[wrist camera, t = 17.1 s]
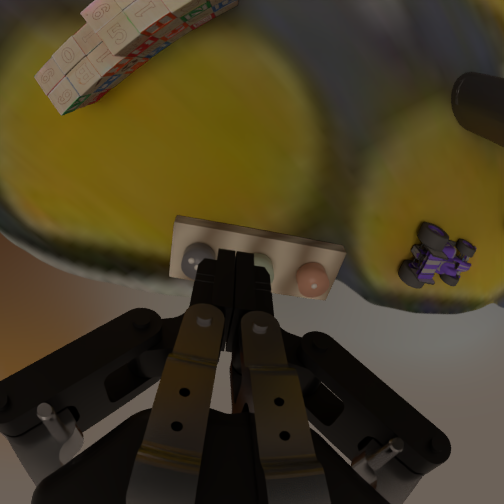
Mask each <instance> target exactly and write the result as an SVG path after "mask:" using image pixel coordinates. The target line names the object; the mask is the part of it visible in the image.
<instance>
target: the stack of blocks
mask: <svg viewBox="0 0 504 504" xmlns="http://www.w3.org/2000/svg"><path fill="white" fill-rule="evenodd" d="M237 5H238V0H94V1H93V2H92V3H91V4H90V5H88V6H87V7H86V8H85V9H84V10H83V11H82V12H81V13H80V14H81V15H82V16H83V18H84V19H85V20H86V22H87V23H86V24H85V25H84V26H83V27H82V28H80V29H79V30H78V31H77V32H76V33H75V34H74V35H73V36H71V37H70V38H69V39H68V40H67V41H66V42H65V43H64V44H63V45H62V46H61V47H60V48H59V49H58V50H57V51H56V52H55V53H54V54H53V55H52V58H50V59H49V60H48V61H47V62H46V64H45V65H44V66H43V67H42V68H41V69H40V70H39V71H38V72H37V74H36V75H35V76H34V77H35V79H36V81H37V82H38V84H39V85H40V86H41V88H42V89H43V91H44V92H45V94H46V95H48V97H49V99H50V100H51V102H52V103H53V105H54V106H55V107H56V109H57V110H58V112H59V113H60V115H65V114H67V113H70V112H73V111H75V110H76V109H79V108H82V107H85V106H86V105H90V104H93V103H95V102H97V101H98V100H99V99H100V98H101V97H102V96H103V95H104V94H106V93H107V92H108V91H109V90H110V89H111V88H113V87H115V86H116V85H117V84H118V83H120V82H121V81H122V80H123V79H125V78H126V77H127V76H128V75H130V73H132V72H133V71H135V70H136V69H137V68H139V67H140V66H141V65H143V64H144V63H145V62H147V61H148V60H150V58H151V57H153V56H154V55H156V54H157V53H158V52H160V51H161V50H163V49H164V48H166V47H167V46H169V45H170V44H171V43H173V42H174V41H176V40H177V39H179V38H180V37H182V36H184V35H185V34H187V33H188V32H190V31H191V30H194V29H196V28H197V27H199V26H201V25H202V24H204V23H206V22H208V21H209V20H211V19H213V18H215V17H216V16H219V15H220V14H222V13H224V12H226V11H228V10H230V9H232V8H234V7H236V6H237Z"/></svg>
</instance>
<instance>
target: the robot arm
mask: <svg viewBox="0 0 504 504" xmlns="http://www.w3.org/2000/svg"><path fill="white" fill-rule="evenodd" d="M451 104H452V110H453V113H454V116H455V118H456V120H457V121H458V122H459V124H460V125H461V126H462V127H463V128H465V129H466V130H468V131H471V132H473V133H475V134H477V135H479V136H481V137H484V138H486V139H488V140H490V141H492V142H494V143H496V144H498V145H500V146H502V147H504V78H501V77H496V76H491V75H486V74H481V73H475V72H467V73H464V74H462V75H461V76H460V77H459V78H458V79H457V80H456V82H455V84H454V86H453V89H452V94H451ZM235 253H236V256H235ZM225 343H226V351H227V352H232V360H231V365H230V384H231V400H232V414H226V413H223V412H220V411H217V410H214V409H211V408H210V403H211V397H212V391H213V385H214V379H215V373H216V368H217V364H218V362H219V357H220V352H221V351H224V348H225ZM160 379H161V380H160ZM159 380H160V383H159V386H158V390H157V393H156V396H155V400H154V403H153V407H152V408H150V409H146V410H143V411H140V412H138V413H136V414H134V415H132V416H130V417H129V418H128V419H126V420H125V421H124V422H122V423H121V424H120V425H118V426H117V427H116V428H114V429H113V430H112V431H110V432H109V433H108V434H106V435H105V436H104V437H102V438H101V439H99V440H98V441H97V442H95V443H94V444H93V445H91V446H90V447H88V448H87V449H86V450H84V451H83V452H82V453H80V454H79V455H77V456H76V457H75V458H73V456H74V455H75V454H76V453H77V452H78V451H79V450H80V449H81V447H82V445H83V440H84V438H83V433H82V432H84V431H85V430H87V429H89V428H90V427H91V426H93V425H95V424H96V423H98V422H99V421H101V420H102V419H104V418H105V417H107V416H108V415H110V414H111V413H113V412H114V411H116V410H117V409H119V408H120V407H122V406H123V405H124V404H126V403H127V402H129V401H130V400H132V399H133V398H135V397H136V396H137V395H139V394H140V393H142V392H143V391H145V390H146V389H148V388H149V387H150V386H152V385H153V384H155V383H156V382H158V381H159ZM321 382H322V383H324V384H325V385H326V386H327V387H328V388H329V389H330V390H331V391H332V392H333V393H334V394H335V395H336V396H337V397H339V398H340V399H341V400H340V399H339V398H337V397H336V396H335V395H334V394H333V393H332V392H331V391H330V390H329V389H327V387H326V386H324V385H323V384H322V383H321ZM308 421H310V422H311V423H312V424H313V425H314V426H315V427H316V428H317V429H318V430H319V431H320V432H321V433H322V434H323V435H324V436H325V437H326V438H327V439H328V440H329V441H330V442H331V443H332V444H334V445H335V446H336V447H337V448H338V449H339V450H340V451H341V452H342V453H343V454H344V455H345V456H346V457H348V458H349V459H350V460H351V466H350V465H349V464H348V463H347V462H346V461H345V460H344V459H343V458H342V457H341V456H340V455H338V453H337V452H336V451H335V450H334V449H333V448H332V447H331V446H330V445H329V444H328V443H327V442H326V441H325V440H324V439H323V438H322V437H321V436H320V435H319V434H318V433H316V432H315V431H314V430H312V429H311V428H310V427H309V423H308ZM0 432H1V433H2V435H3V436H4V437H5V438H6V439H7V440H8V441H9V443H10V444H11V446H12V448H13V450H14V451H15V453H16V454H17V457H18V458H19V460H20V462H21V463H22V465H23V467H24V468H25V470H26V471H27V473H28V474H29V476H30V477H31V479H32V480H33V482H34V483H35V485H36V486H37V487H36V489H35V491H34V493H33V496H32V501H31V504H403V502H404V501H405V500H406V498H407V497H408V496H409V495H410V493H411V492H412V491H413V489H414V488H415V486H416V485H417V484H418V482H419V480H420V479H421V478H422V476H424V475H425V474H427V473H428V472H430V471H431V470H433V469H434V468H436V467H438V466H439V465H441V464H442V463H444V462H445V461H446V460H447V459H448V458H449V456H450V453H451V445H450V441H449V439H448V438H447V436H446V435H445V434H444V433H443V432H442V431H441V430H440V429H438V428H437V427H436V426H435V425H434V424H433V423H431V422H430V421H429V420H428V419H426V418H425V417H424V416H423V415H422V414H421V413H419V412H418V411H417V410H416V409H415V408H414V407H412V406H411V405H410V404H409V403H408V402H406V401H405V400H404V399H403V398H402V397H400V396H399V395H398V394H397V393H396V392H395V391H394V390H392V389H391V388H390V387H389V386H388V385H386V384H385V383H384V382H383V381H382V380H380V379H379V378H378V377H377V376H376V375H375V374H374V373H372V372H371V371H370V370H369V369H368V368H367V367H365V366H364V365H363V364H362V363H361V362H360V361H358V360H357V359H356V358H355V357H354V356H352V355H351V354H350V353H349V352H348V351H347V350H346V349H344V348H343V347H342V346H341V345H340V344H339V343H338V342H336V341H335V340H334V339H333V338H332V337H330V336H329V335H327V334H325V333H322V332H318V331H313V332H308V333H306V334H305V335H304V336H303V337H299V336H296V335H293V334H290V333H288V332H286V331H285V330H283V329H282V328H281V327H280V325H279V323H278V321H277V319H276V318H275V317H274V311H273V301H272V292H271V280H270V274H269V273H268V271H267V270H266V268H265V267H262V266H255V265H254V253H247V252H241V251H237V252H236V251H234V250H227V249H221V248H219V249H218V256H217V260H215V259H208V258H204V259H203V260H202V261H201V262H200V263H199V264H198V267H197V272H196V277H195V281H194V286H193V291H192V296H191V302H190V306H189V308H188V309H187V310H186V312H185V313H184V314H182V315H180V316H178V317H174V318H166V319H161V317H160V316H159V315H158V314H157V313H156V312H155V311H153V310H150V309H147V308H136V309H132V310H130V311H128V312H126V313H124V314H122V315H121V316H119V317H117V318H115V319H113V320H111V321H109V322H108V323H106V324H104V325H102V326H100V327H98V328H97V329H95V330H93V331H92V332H89V333H87V334H86V335H84V336H82V337H80V338H78V339H76V340H75V341H73V342H71V343H69V344H67V345H65V346H64V347H62V348H60V349H58V350H56V351H54V352H53V353H51V354H49V355H47V356H46V357H44V358H42V359H40V360H38V361H36V362H34V363H33V364H31V365H29V366H27V367H25V368H24V369H22V370H20V371H18V372H16V373H15V374H13V375H11V376H9V377H7V378H5V379H3V380H2V381H0ZM72 458H73V459H72Z"/></svg>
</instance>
